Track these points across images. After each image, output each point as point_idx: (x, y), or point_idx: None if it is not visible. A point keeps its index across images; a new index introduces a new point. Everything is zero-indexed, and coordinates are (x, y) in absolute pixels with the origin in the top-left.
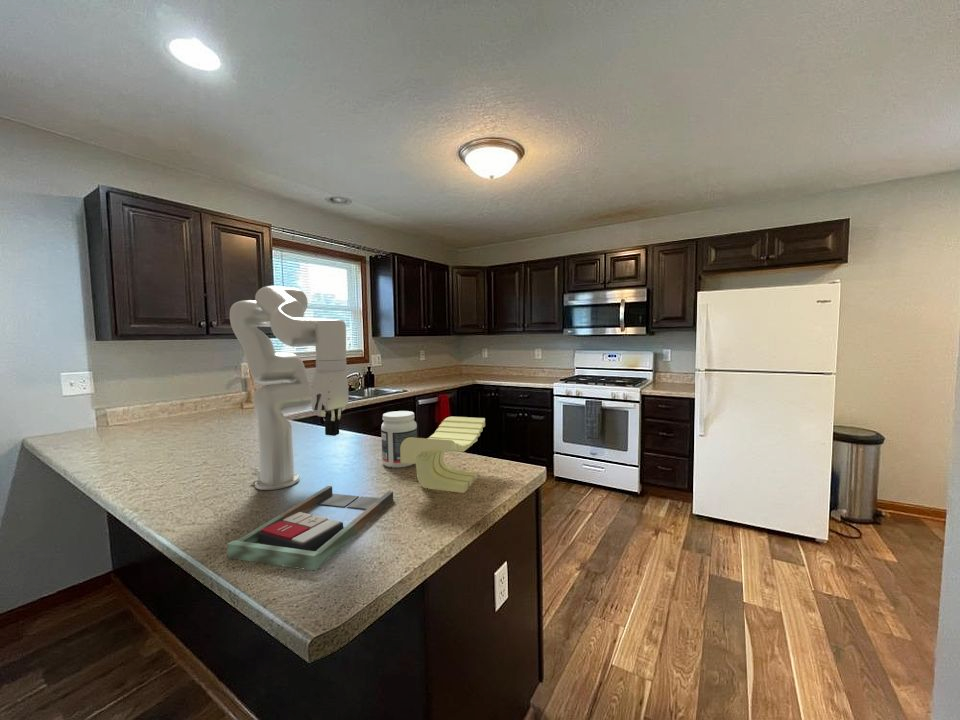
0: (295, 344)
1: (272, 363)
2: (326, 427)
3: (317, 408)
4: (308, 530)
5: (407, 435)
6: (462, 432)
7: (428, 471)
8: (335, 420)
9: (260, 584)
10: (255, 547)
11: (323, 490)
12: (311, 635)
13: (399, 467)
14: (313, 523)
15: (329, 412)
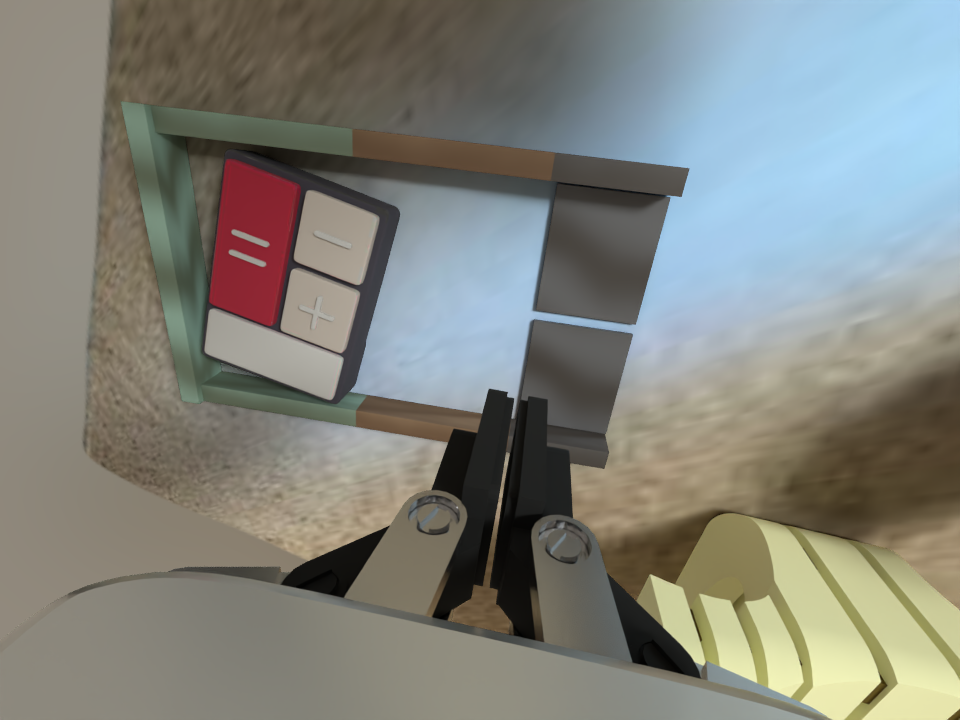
0: None
1: None
2: (442, 459)
3: (262, 603)
4: (262, 332)
5: None
6: None
7: (742, 580)
8: (500, 576)
9: (126, 293)
10: (146, 221)
11: (625, 180)
12: (85, 452)
13: None
14: (299, 326)
15: (540, 597)
